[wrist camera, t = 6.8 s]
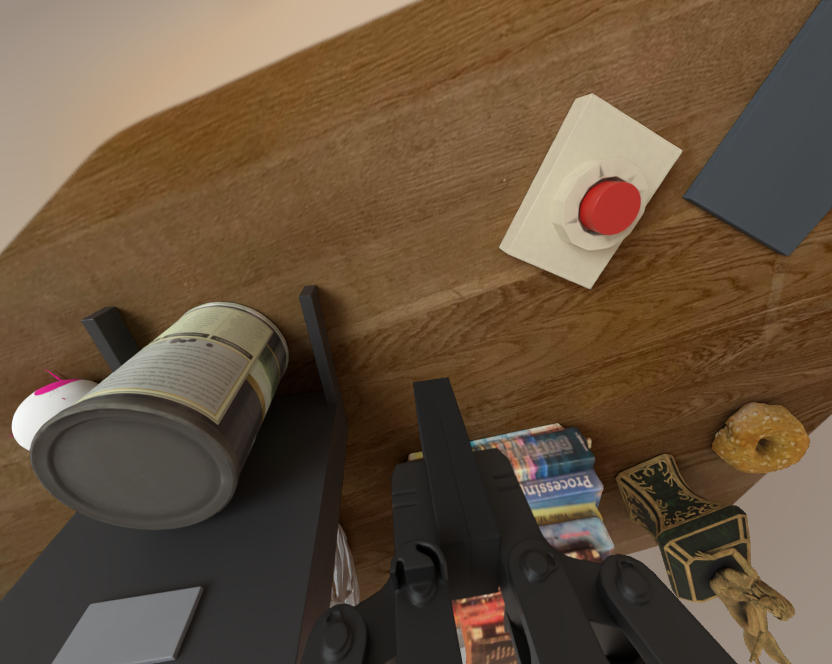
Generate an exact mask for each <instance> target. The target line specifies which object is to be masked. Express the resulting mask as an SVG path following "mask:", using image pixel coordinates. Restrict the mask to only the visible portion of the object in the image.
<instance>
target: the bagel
mask: <svg viewBox="0 0 832 664" xmlns="http://www.w3.org/2000/svg"><path fill="white" fill-rule="evenodd" d="M726 425H727V426H725V427H724V429H721V430H720V431H719V432H717V433H716V434H715V435H716V436H715V439H714V442H713V443H712V450H713V451H714V452H716V454H717V455H718V456H719V457H721V458H722V459H723V460H724V461H725V462H726V463H727V464H728V465H730V466H732V467H734V468H735V469H737V470H740V471H743V472H745V473H768V472H772V471H777V470H781V469H783V468H787V467H789V466H790V465H793V464H795V463H797V462H799V460H800V459H801V458H802V457H803V456H804V454H805V453H806V450H807V449H808V447H809V444H810V439H809V437H808V435H807V433H806V431H805V429H804V426H803V425H802V424H801V423H800V422H799V421H798V420H797V419H796V418H795V417H794V416H793V415H792V414H791V413H790V412H789V411H788V409H786V408H785V407H783V406H781V405H767V404H765V403H756V402H751V403H748V404H745V405H743V406H742V407H741V408H740V409H739V410H738V411H737V412H736V413H734V414H733V415H732V416H730V417H729V418H728V420H727V421H726Z"/></svg>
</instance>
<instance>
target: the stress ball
mask: <svg viewBox="0 0 832 664" xmlns="http://www.w3.org/2000/svg"><path fill="white" fill-rule="evenodd" d="M45 370H46V369H45ZM48 372H49V371H48ZM49 373H51V372H49ZM51 374H52V373H51ZM52 375H53V376H55V375H54V374H52ZM55 377H56V378H57V379H58V380H60V381H58V382H55V383H52V384H49V385H47V386H44V387H42V388H40V389H39V390H37V391H35V392H34V393H32V394H31V395H30V396H29V397H27V398H26V399H25V400H24V401H23V402H22V404H21V405H20V406H19V407H18V409H17V411H16V413H15V415H14V417H13V421H12V432H13V435H14V437H15V439H16V441H17V442H18V443H19V444H20V445H21V446H22V447H24V448H25V449H27V450H30V446H31V442H32V440H33V438H34V436H35V434H36V433H37V431H38V430H39V429H40V427H41V426H42V425H43V424H44V423H45V422H47V421H48V420H49V419H51V418H52V417H54V416H55V415H56V414H58V413H59V412H60V411H62V410H64V409H66V408H68V407H70V406H72V405H73V404H75V403H76V402H77V401H78V400H80V399H81V398H82V397H83V396H85V395H86V394H87V393H88V392H90V391H91V390H92V389H93V388H95V387H96V386H97V385H98V383H96V382H93V381H89V380H83V379H69V380H62V379H60V378H58V377H57V376H55ZM13 435H11V436H13ZM8 437H9V436H8Z"/></svg>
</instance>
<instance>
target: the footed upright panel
mask: <svg viewBox="0 0 832 664" xmlns="http://www.w3.org/2000/svg"><path fill="white" fill-rule="evenodd" d="M299 299H300V303H301V307H302V310H303V314H304V318H305V322H306V326H307V330H308V333H309V337H310V341H311V345H312V349H313V353H314V356H315V360H316V364H317V368H318V372H319V376H320V379H321V383H322V387H323V391H317V392H309V393H301V394H293V395H285V396H277V397H273V399H272V401H271V403H270V406H269V408H268V410H267V413H266V415H265V417H264V420H263V422H262V424H261V426H260V429H259V431H258V434H257V436H256V438H255V441H254V443H253V445H252V448H251V450H250V452H249V455H248V457H247V459H246V462H245V464H244V466H243V469H242V471H241V473H240V476H239V481H238V485H237V487H236V490H235V492H234V495H233V497H232V499H231V500H230V502H229V503H228V504H227V505H226V506H225V507H224V508H223V509H222V510H221V511H220V512H219V513H217V514H215V515H214V516H212V517H211V518H209V519H206V520H204V521H202V522H200V523H197V524H194V525H190V526H187V527H181V528H175V529H162V530H150V529H135V528H128V527H121V526H116V525H112V524H108V523H105V522H102V521H98V520H96V519H93V518H90V517H88V516H86V515H83V514H81V513H79V512H76V513H75V514H74V515H73V517H72V518H71V519H70V520H69V521H68V522H67V524H66V525H65V526H64V527H63V528H62V530H61V531H60V532H59V533H58V534H57V535H56V537H55V538H54V539H53V540H52V541H51V542H50V544H49V545H48V546H47V547H46V548H45V549H44V551H43V552H42V553H41V554H40V555H39V556H38V558H37V559H36V560H35V561H34V562H33V564H32V565H31V566H30V567H29V568H28V569H27V571H26V572H25V573H24V574H23V575H22V576H21V578H20V579H19V580H18V581H17V582H16V583H15V585H14V586H13V587H12V588H11V589H10V591H9V592H8V593H7V594H6V595H5V596H4V598H3V599H2V600H1V601H0V664H300V662H301V658H302V655H303V652H304V649H305V646H306V643H307V640H308V637H309V634H310V632H311V630H312V628H313V626H314V624H315V622H316V620H317V619H318V618H319V617H320V616H321V615H322V614H323V612H324V611H326V610H327V609H329V608H330V602H331V592H332V583H333V573H334V563H335V553H336V544H337V534H338V524H339V514H340V505H341V495H342V485H343V475H344V466H345V456H346V446H347V436H348V423H347V418H346V414H345V410H344V405H343V401H342V397H341V392H340V389H339V384H338V379H337V375H336V371H335V366H334V362H333V358H332V353H331V349H330V345H329V340H328V336H327V332H326V327H325V323H324V319H323V314H322V310H321V306H320V301H319V297H318V293H317V288H316V285H314V286H305V287H304V289H303V290H302V292H301V294H300V296H299ZM81 322H82V323H83V325H84V326H85V328H86V330H87V331H88V333H89V334H90V336H91V338H92V339H93V341H94V343H95V344H96V346H97V347H98V349H99V351H100V352H101V354H102V355H103V357H104V359H105V360H106V362H107V363H108V365H109V367H110V368H111V370H112V372H115V371H116V370H117V369H118V368H120V367H121V366H122V365H123V364H125V363H126V362H127V361H128V360H129V359H131V358H132V357H133V356H134V355H136V354H137V353H138V352H140V350H139V349H138V347H137V345H136V343H135V341H134V340H133V338H132V336H131V334H130V332H129V331H128V329H127V327H126V325H125V323H124V322H123V320H122V318H121V316H120V314H119V312H118V311H117V309H116V307H107V308H103V309H101V310H99V311H97V312H95V313H93V314H91V315H90V316H88V317H86V318H84V319H82V320H81Z"/></svg>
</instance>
